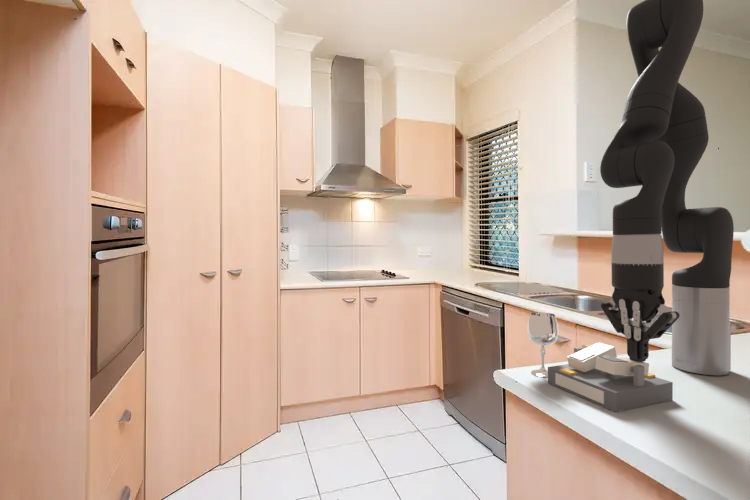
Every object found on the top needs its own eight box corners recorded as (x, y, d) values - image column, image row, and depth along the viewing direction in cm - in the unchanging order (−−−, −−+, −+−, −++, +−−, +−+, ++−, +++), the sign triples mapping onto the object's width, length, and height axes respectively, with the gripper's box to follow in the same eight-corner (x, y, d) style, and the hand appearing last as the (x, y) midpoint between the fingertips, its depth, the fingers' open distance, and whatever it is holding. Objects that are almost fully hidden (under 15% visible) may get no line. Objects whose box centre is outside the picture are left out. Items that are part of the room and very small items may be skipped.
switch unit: (599, 374, 79) (599, 343, 79) (672, 400, 66) (672, 363, 66) (547, 382, 75) (547, 350, 75) (614, 412, 62) (614, 372, 62)
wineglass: (561, 379, 77) (561, 317, 77) (530, 377, 78) (530, 316, 78) (554, 370, 82) (554, 312, 82) (525, 368, 84) (525, 311, 83)
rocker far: (626, 368, 71) (627, 356, 71) (650, 376, 67) (651, 363, 67) (592, 367, 68) (594, 355, 68) (616, 375, 64) (617, 362, 64)
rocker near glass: (598, 351, 77) (596, 340, 77) (619, 357, 73) (617, 346, 72) (567, 366, 74) (564, 355, 74) (587, 373, 70) (584, 361, 70)
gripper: (693, 261, 64) (693, 369, 64) (617, 258, 76) (618, 348, 76) (660, 263, 61) (661, 375, 61) (587, 260, 73) (589, 353, 74)
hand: (637, 360), depth 69 cm, fingers closed
